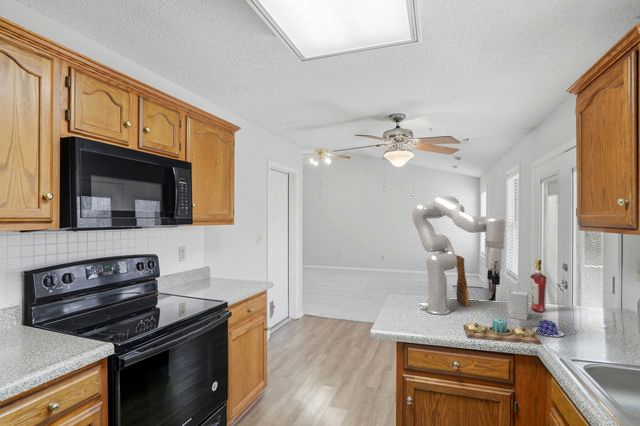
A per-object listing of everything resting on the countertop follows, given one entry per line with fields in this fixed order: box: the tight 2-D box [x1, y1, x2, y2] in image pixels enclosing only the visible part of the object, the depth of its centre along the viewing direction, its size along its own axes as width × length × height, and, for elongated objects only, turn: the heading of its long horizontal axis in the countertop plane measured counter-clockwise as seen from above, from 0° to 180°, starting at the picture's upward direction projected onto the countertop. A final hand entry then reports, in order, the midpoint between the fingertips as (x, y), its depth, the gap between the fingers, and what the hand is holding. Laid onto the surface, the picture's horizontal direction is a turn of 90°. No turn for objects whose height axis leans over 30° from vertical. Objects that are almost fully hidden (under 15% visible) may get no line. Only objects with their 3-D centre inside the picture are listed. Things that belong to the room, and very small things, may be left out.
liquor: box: [530, 259, 547, 313], centre depth 186 cm, size 7×7×28 cm
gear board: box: [462, 322, 542, 345], centre depth 151 cm, size 28×13×4 cm, turn 75°
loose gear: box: [491, 317, 508, 333], centre depth 151 cm, size 6×6×5 cm
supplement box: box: [510, 290, 529, 321], centre depth 176 cm, size 7×7×13 cm
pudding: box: [531, 319, 565, 338], centre depth 154 cm, size 12×12×5 cm
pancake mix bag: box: [455, 254, 470, 307], centre depth 203 cm, size 7×19×28 cm, turn 168°
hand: (493, 281), depth 157 cm, fingers open, 9 cm apart
